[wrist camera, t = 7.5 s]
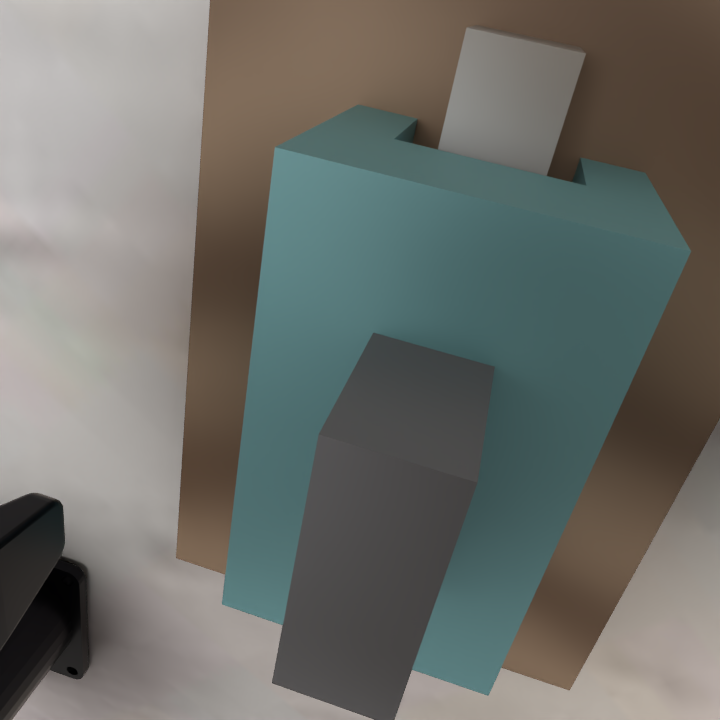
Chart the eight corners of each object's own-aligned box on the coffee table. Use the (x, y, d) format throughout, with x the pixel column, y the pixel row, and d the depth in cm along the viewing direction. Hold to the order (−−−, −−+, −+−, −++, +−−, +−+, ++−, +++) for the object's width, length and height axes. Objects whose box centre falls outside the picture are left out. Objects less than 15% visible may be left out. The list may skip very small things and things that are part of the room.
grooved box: (502, 534, 18) (474, 850, 11) (295, 469, 19) (153, 729, 12) (645, 172, 13) (748, 348, 7) (358, 104, 14) (177, 196, 7)
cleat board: (568, 649, 22) (571, 753, 19) (196, 527, 23) (144, 604, 20) (947, -75, 12) (1084, -103, 9) (255, -201, 13) (170, -261, 10)
